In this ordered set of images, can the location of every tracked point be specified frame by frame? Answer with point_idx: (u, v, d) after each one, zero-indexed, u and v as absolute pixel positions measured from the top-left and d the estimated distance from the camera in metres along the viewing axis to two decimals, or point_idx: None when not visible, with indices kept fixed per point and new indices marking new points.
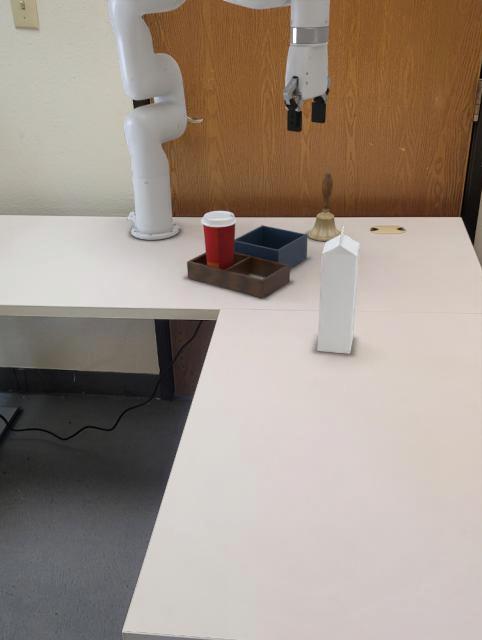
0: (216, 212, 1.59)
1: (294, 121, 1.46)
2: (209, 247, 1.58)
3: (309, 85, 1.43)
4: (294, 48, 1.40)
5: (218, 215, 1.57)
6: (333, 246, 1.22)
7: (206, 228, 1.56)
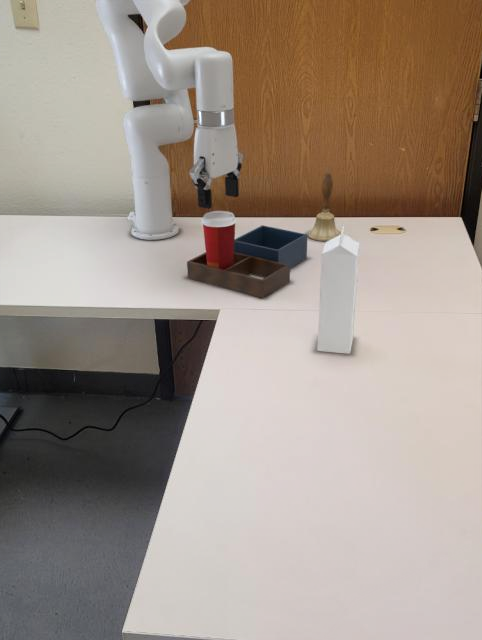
0: (216, 212, 1.59)
1: (203, 199, 1.49)
2: (209, 247, 1.58)
3: (217, 165, 1.47)
4: (200, 130, 1.44)
5: (218, 215, 1.57)
6: (333, 246, 1.22)
7: (205, 228, 1.56)
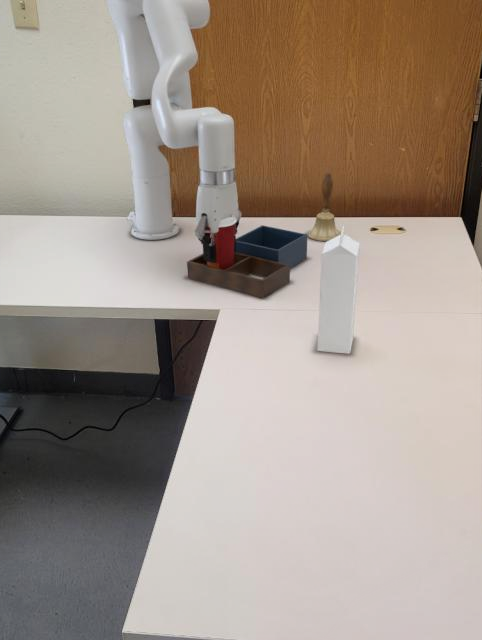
0: None
1: (209, 254, 1.57)
2: None
3: (218, 220, 1.53)
4: (202, 189, 1.50)
5: None
6: (333, 246, 1.22)
7: None
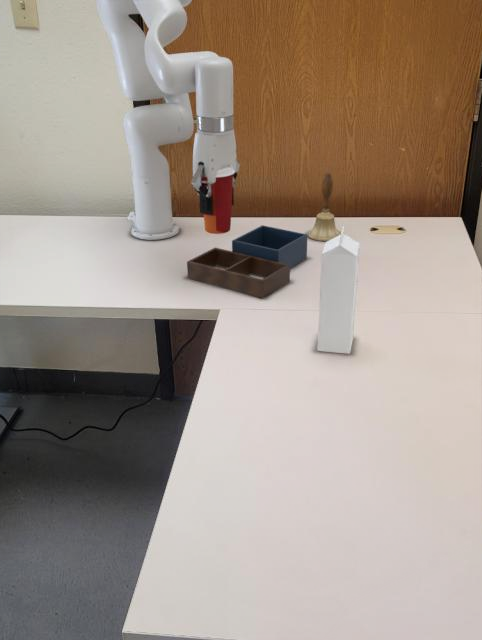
0: None
1: (205, 205, 1.52)
2: None
3: (215, 170, 1.48)
4: (199, 136, 1.45)
5: None
6: (333, 246, 1.22)
7: None
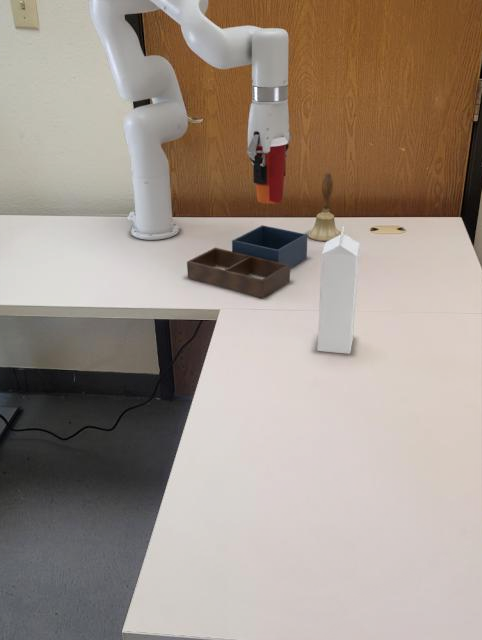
0: None
1: (259, 175, 1.56)
2: None
3: (270, 139, 1.52)
4: (255, 106, 1.49)
5: None
6: (333, 246, 1.22)
7: (257, 149, 1.55)
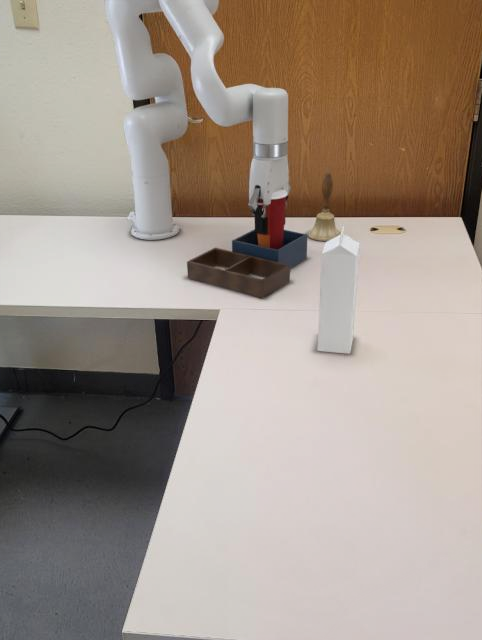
0: None
1: (260, 226, 1.61)
2: None
3: (271, 193, 1.58)
4: (256, 161, 1.55)
5: None
6: (333, 246, 1.22)
7: (258, 201, 1.61)
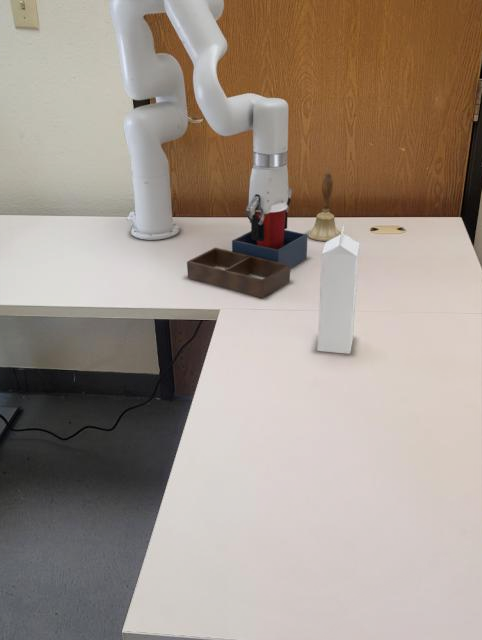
0: None
1: (257, 232, 1.61)
2: None
3: (270, 202, 1.59)
4: (256, 171, 1.56)
5: None
6: (333, 246, 1.22)
7: (258, 214, 1.62)
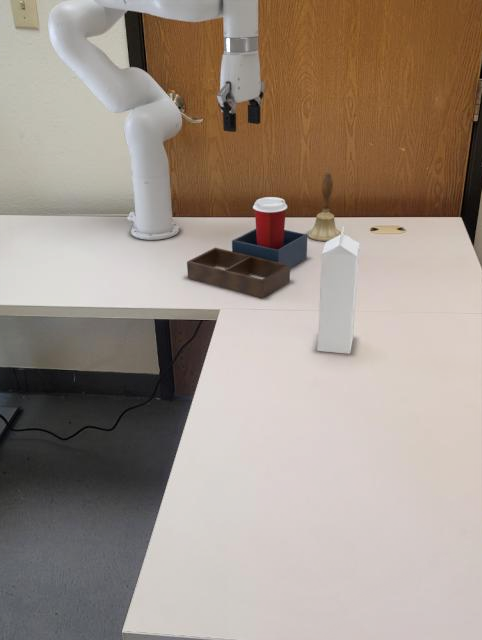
0: (267, 198, 1.65)
1: (229, 122, 1.61)
2: (260, 232, 1.64)
3: (241, 89, 1.59)
4: (226, 56, 1.56)
5: (270, 201, 1.63)
6: (333, 246, 1.22)
7: (258, 214, 1.62)
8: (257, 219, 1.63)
